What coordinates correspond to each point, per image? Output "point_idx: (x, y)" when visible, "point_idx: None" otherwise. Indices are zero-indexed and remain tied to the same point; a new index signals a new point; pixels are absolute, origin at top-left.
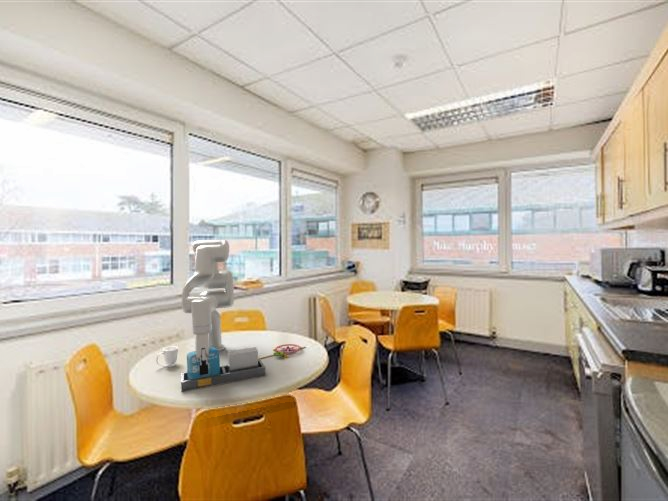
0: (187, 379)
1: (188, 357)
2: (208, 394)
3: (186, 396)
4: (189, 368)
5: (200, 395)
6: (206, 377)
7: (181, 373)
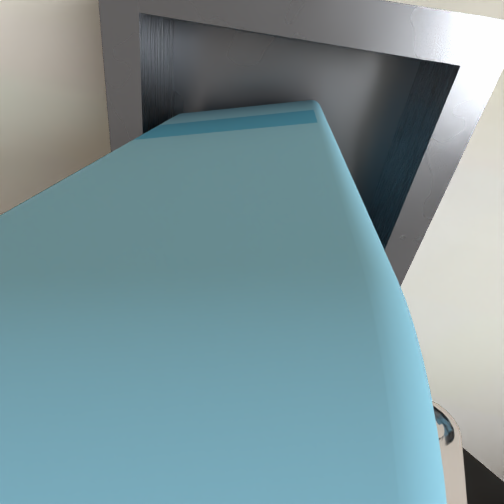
0: (407, 105)
1: (33, 319)
2: (11, 206)
3: (15, 19)
4: (135, 156)
5: (7, 149)
6: None
7: (492, 24)
